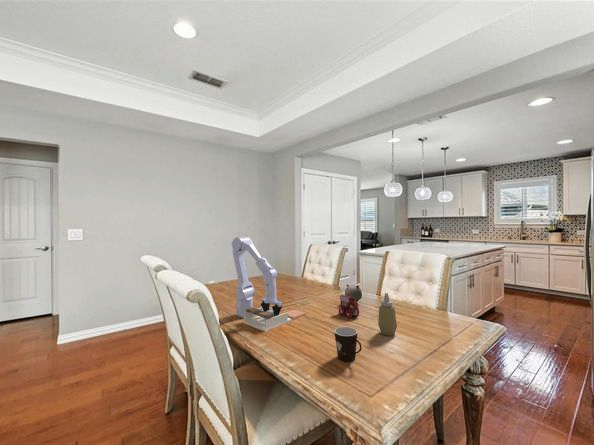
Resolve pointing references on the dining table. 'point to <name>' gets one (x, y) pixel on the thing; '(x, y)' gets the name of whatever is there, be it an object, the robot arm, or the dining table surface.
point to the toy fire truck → (348, 306)
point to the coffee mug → (346, 343)
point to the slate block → (270, 312)
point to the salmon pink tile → (295, 314)
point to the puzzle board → (265, 321)
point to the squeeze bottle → (387, 317)
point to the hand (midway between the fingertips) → (271, 317)
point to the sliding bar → (259, 313)
